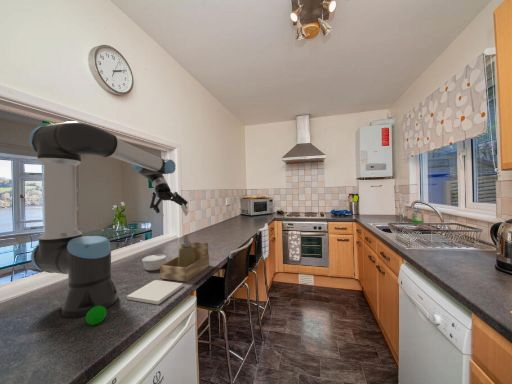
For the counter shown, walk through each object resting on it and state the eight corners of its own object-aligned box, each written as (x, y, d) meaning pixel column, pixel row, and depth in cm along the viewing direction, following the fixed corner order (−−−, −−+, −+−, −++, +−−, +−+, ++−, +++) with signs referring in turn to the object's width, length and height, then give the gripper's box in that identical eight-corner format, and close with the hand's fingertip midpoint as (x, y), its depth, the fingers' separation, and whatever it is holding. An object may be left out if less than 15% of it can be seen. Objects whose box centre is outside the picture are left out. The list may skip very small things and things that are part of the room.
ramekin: (170, 263, 112) (170, 254, 112) (158, 272, 101) (158, 261, 101) (151, 263, 113) (150, 254, 113) (137, 271, 102) (137, 260, 102)
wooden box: (159, 278, 93) (159, 252, 92) (186, 263, 112) (186, 241, 112) (186, 282, 89) (185, 254, 89) (209, 265, 108) (208, 242, 108)
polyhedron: (110, 317, 64) (110, 302, 64) (98, 328, 60) (98, 311, 59) (94, 318, 64) (93, 303, 64) (81, 328, 59) (80, 312, 59)
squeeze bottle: (174, 273, 99) (173, 235, 99) (186, 267, 106) (186, 232, 106) (186, 276, 95) (185, 237, 95) (198, 270, 102) (197, 234, 102)
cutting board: (126, 299, 75) (126, 296, 75) (155, 282, 89) (155, 279, 89) (158, 304, 71) (158, 301, 71) (183, 286, 85) (182, 283, 85)
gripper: (179, 191, 128) (193, 217, 119) (136, 192, 110) (148, 223, 100) (183, 182, 125) (198, 208, 115) (139, 182, 106) (152, 213, 96)
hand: (175, 215), depth 108 cm, fingers open, 13 cm apart
